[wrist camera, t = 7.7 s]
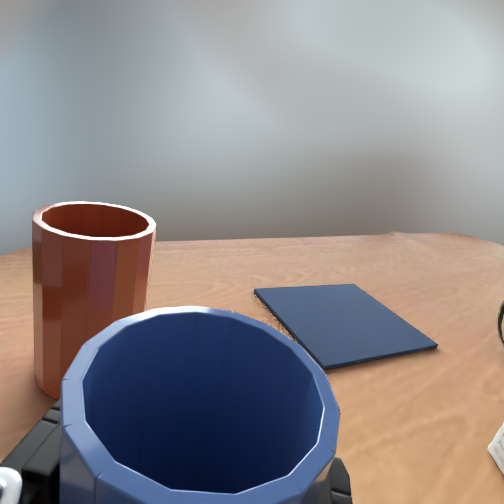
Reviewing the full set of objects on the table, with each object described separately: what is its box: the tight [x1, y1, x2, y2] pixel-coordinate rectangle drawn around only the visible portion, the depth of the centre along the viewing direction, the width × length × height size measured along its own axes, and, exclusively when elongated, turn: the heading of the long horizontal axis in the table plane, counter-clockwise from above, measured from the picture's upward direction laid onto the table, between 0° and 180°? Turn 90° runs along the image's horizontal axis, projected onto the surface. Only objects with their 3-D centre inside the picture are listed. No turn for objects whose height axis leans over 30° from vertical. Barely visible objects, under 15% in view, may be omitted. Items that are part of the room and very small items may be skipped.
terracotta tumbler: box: [32, 202, 156, 400], centre depth 21 cm, size 6×6×10 cm
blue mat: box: [254, 284, 438, 370], centre depth 35 cm, size 14×12×1 cm
